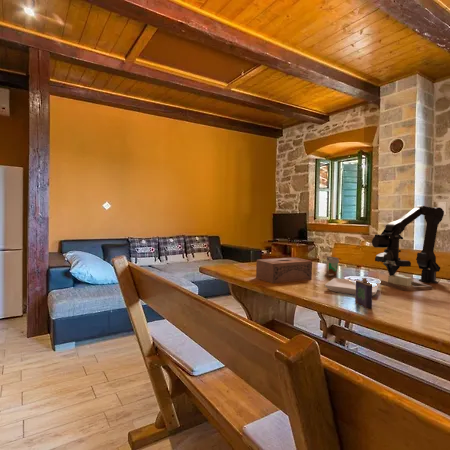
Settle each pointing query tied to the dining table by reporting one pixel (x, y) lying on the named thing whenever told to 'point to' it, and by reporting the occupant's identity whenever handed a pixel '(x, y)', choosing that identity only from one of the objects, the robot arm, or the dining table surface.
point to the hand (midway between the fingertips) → (391, 277)
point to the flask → (363, 293)
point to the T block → (400, 280)
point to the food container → (332, 266)
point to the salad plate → (345, 286)
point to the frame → (417, 287)
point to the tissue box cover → (283, 269)
